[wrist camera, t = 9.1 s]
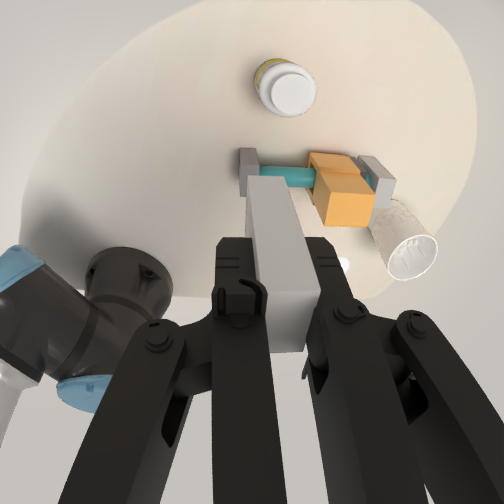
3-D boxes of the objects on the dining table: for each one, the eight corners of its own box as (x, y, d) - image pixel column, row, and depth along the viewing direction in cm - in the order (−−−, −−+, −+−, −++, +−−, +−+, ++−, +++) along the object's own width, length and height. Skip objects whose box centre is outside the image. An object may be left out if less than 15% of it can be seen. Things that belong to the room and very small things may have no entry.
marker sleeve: (305, 186, 41) (323, 229, 33) (309, 152, 38) (331, 188, 30) (341, 188, 41) (366, 230, 34) (347, 155, 38) (377, 191, 31)
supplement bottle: (301, 100, 35) (324, 122, 27) (255, 103, 35) (264, 126, 27) (299, 56, 32) (323, 64, 24) (251, 59, 32) (258, 67, 24)
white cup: (392, 243, 50) (417, 284, 42) (354, 231, 48) (376, 275, 40) (416, 204, 45) (447, 243, 37) (378, 188, 43) (408, 228, 35)
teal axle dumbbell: (238, 178, 41) (240, 205, 36) (240, 145, 38) (242, 167, 33) (368, 184, 43) (387, 210, 37) (375, 155, 40) (397, 177, 34)
